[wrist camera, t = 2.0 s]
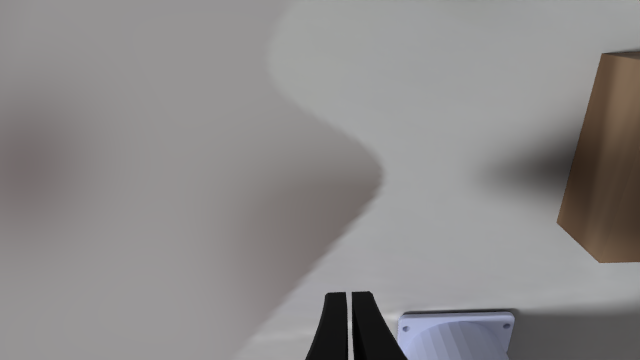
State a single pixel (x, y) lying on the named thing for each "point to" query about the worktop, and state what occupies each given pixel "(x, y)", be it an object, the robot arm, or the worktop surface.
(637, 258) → the t block
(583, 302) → the worktop surface
